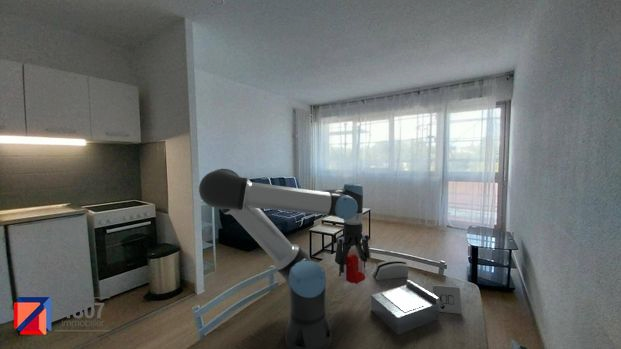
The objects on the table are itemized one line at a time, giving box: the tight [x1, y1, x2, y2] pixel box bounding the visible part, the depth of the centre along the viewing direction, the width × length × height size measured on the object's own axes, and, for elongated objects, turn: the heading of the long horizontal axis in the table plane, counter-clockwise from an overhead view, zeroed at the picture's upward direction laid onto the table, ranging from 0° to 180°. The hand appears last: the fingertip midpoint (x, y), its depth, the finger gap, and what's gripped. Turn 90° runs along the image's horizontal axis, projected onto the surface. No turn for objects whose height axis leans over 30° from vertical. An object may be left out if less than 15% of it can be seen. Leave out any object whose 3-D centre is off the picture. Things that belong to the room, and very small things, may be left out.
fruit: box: [347, 244, 367, 270], centre depth 124 cm, size 10×12×15 cm
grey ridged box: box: [370, 279, 440, 336], centre depth 86 cm, size 19×14×8 cm
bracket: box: [338, 254, 366, 285], centre depth 93 cm, size 9×6×10 cm
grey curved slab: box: [372, 259, 410, 281], centre depth 114 cm, size 17×5×10 cm, turn 100°
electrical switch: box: [432, 284, 463, 315], centre depth 89 cm, size 9×5×9 cm, turn 78°
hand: (352, 277), depth 94 cm, fingers closed on bracket, 8 cm apart
